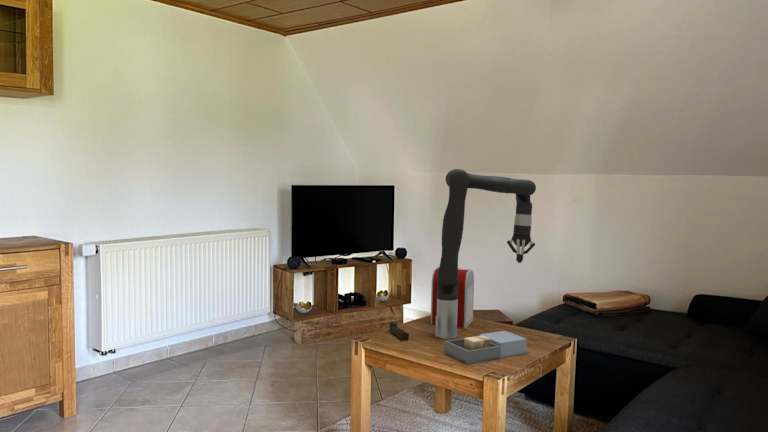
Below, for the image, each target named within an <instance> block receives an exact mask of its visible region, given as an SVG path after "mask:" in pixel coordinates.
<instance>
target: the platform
mask: <svg viewBox="0 0 768 432" xmlns="http://www.w3.org/2000/svg"><path fill="white" fill-rule="evenodd" d="M478 336H485V337H487V338H490V339H491V343H494V344H496V345H498V346H501V352H500V359H502V358H506V357H512V356H517V355H523V354H525V355H526V354H527V352H528V351H527V346H528V343H527V342H528V338H525V337H523V336H521V335H520V336H519V335H517V334H514V333H512V332H509V331H506V330H501V331H500V330H499V331H493V332H486V333H478Z"/></svg>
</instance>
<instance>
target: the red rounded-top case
mask: <svg viewBox="0 0 768 432" xmlns="http://www.w3.org/2000/svg"><path fill="white" fill-rule="evenodd" d="M438 269H439V266H437V267H436V268H435V269H434V270H433V271H432V272H433V273H432V274H431V275H432V277H431V288H430V289H431V293H430V294H431V296H430V297H431V299H430V325H434V326H435V325H436V315H437V287H438ZM474 291H475V275H474V271H473V269H470V268H462V267H461V268H460V267H459V268H458V308H457V328H458V329H459V328H460V329H461V328H462V329H466V328H468V326H469V325H471V323H472V322H474V293H475V292H474Z"/></svg>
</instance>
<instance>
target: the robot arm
mask: <svg viewBox="0 0 768 432" xmlns="http://www.w3.org/2000/svg"><path fill="white" fill-rule="evenodd" d="M445 183H446V185H447V186H448V189H449V190H448V191H449V192H448V202H447V205H446V208H445V212H444V215H443V219H442V227H441V257H440V261H439V266H438V267H439V269H438V287H437V315H436V325H434V326H435V329H434V330H435V331H434V336H435V338H440V339H445V340H447V339H448V340H453V339H457V337H458V327H457V308H458V267H459V254H460V253H459V252H460V249H461V244H462V240H463V233H464V226H465V225H464V224H465V213H466V212H465V211H466V210H465V206H466V198H467V193H468V189H476V190H482V191H487V192H493V193H500V194H501V193H502V194H515V201H516V205H515V215H514V224H513V234H512V237H511V239H509V240H507V241H506V244H507V245H508V246H509V249H511V251H512V252H513V253H515V254H516V259H515V260H516V262H517V263H519V264H521V263H522V262H523V261H524V255H526V254H528V253H529V252H530V251H531V250H532V249H533V248H534V247H535V246H536V243H535V242H533V241H532V238H531V231H532V219H533V218H532V214H533V213H532V212H533V203H532V202H531V196H532V195H533V194H535V193H536V189H537V187H536V183H535V182H534V181H532V180H530V179H522V178H521V179H520V178H510V177H505V176H496V175H482V174H475V173H474V174H473V173H470V172H469V173H468V172H467V171H465V170H464V169H459V168H454V169H451V170H450V171H448V172H447V174H446V175H445ZM513 243H514V245H515V246H516V248H515V246H514V245H513ZM528 245H529V246H528ZM527 246H528V248H527V249H526V250H525V248H526V247H527Z"/></svg>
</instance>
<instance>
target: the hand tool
mask: <svg viewBox="0 0 768 432" xmlns="http://www.w3.org/2000/svg"><path fill="white" fill-rule="evenodd" d="M389 331H390V334H394V335H395V336H396V337H398V338H399V340H400V341H401V342H404V341H403V340H407V341H409V337H410V333H408V332H406V331H405V330H403V329H401V328H400V327H399V326H398V324H397V323H396V322H394V321H389Z"/></svg>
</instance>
